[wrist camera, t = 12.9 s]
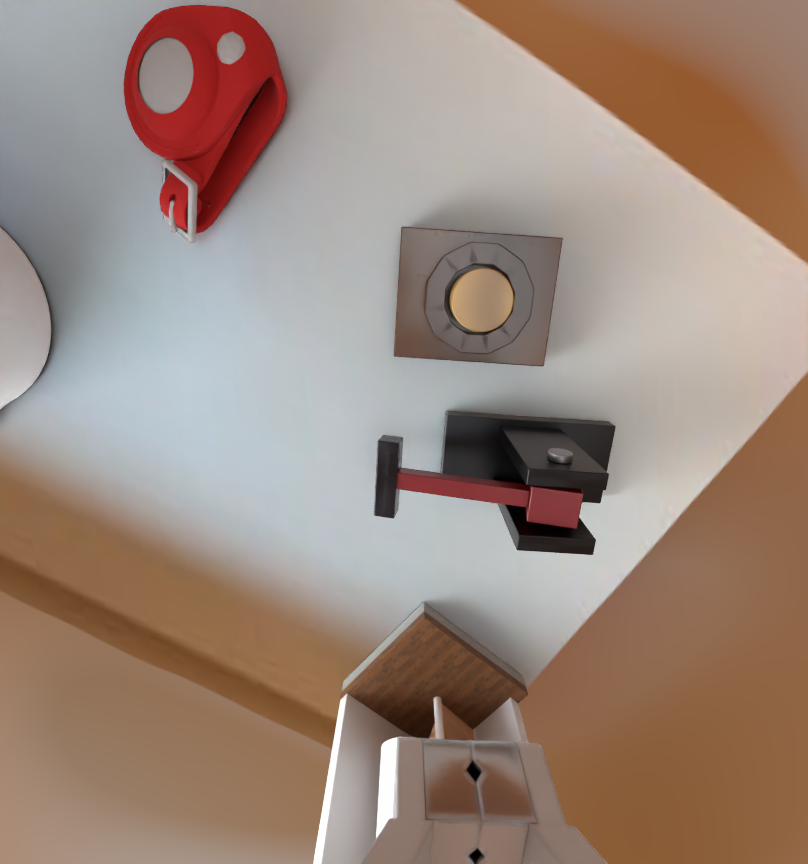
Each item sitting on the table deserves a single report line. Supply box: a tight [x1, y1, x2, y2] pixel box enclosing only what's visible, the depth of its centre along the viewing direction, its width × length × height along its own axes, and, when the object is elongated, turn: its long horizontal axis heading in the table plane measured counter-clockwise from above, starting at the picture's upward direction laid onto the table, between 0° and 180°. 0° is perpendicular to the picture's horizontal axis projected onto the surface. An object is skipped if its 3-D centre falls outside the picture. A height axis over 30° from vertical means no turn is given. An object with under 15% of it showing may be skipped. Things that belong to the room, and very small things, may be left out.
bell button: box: [449, 268, 514, 332], centre depth 29 cm, size 4×4×2 cm
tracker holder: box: [124, 5, 287, 243], centre depth 29 cm, size 12×4×10 cm
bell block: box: [394, 227, 562, 366], centre depth 31 cm, size 10×8×4 cm
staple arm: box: [374, 435, 583, 529], centre depth 29 cm, size 12×5×2 cm, turn 86°
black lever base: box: [440, 411, 615, 555], centre depth 32 cm, size 12×6×10 cm, turn 86°
